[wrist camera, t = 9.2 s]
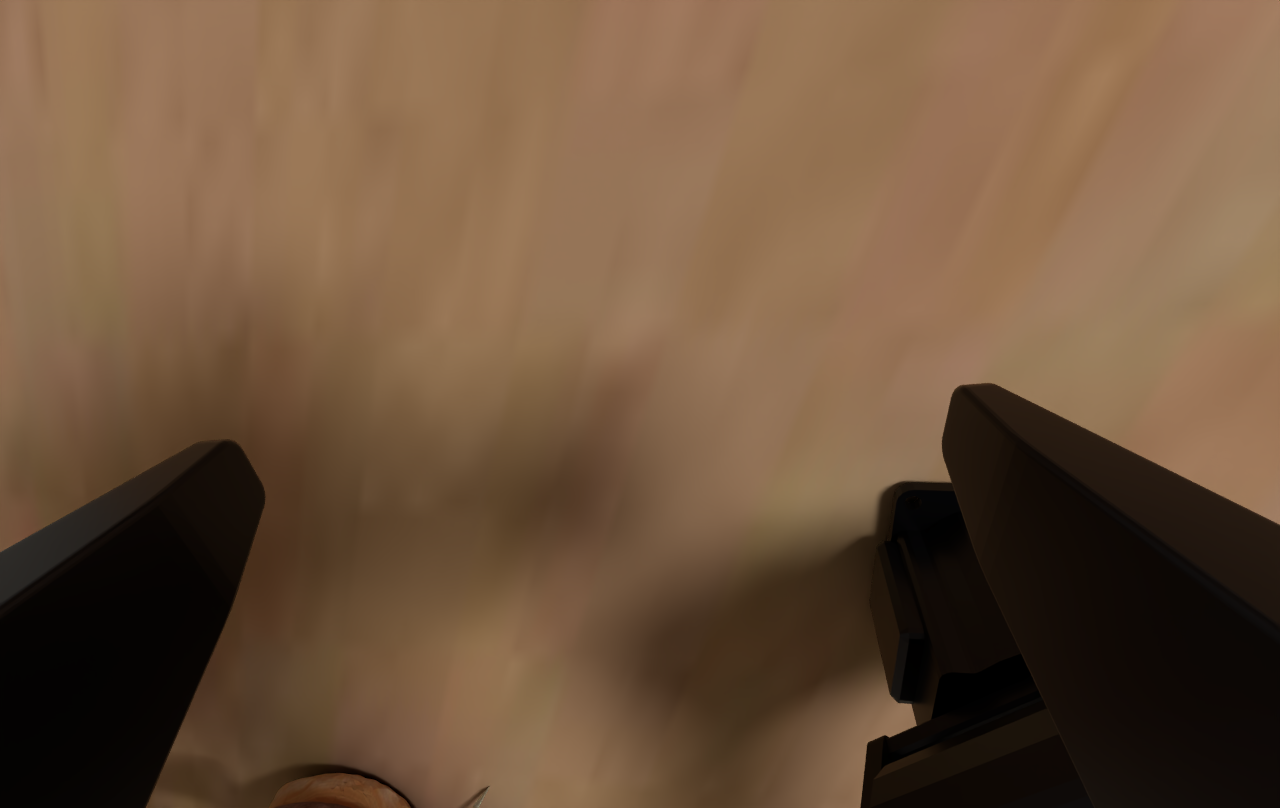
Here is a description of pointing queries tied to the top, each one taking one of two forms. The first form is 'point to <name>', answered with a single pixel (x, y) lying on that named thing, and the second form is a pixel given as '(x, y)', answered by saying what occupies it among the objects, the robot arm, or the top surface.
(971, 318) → the top surface
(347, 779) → the mug
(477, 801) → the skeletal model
